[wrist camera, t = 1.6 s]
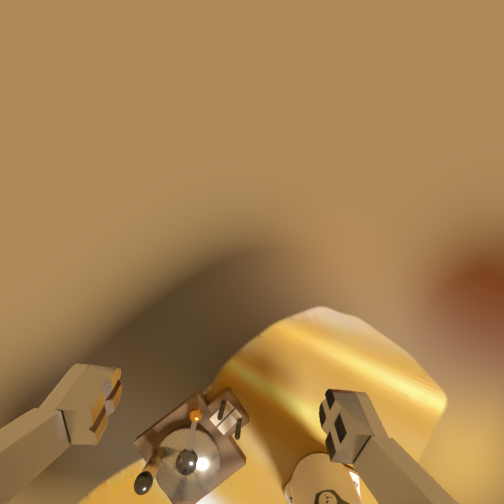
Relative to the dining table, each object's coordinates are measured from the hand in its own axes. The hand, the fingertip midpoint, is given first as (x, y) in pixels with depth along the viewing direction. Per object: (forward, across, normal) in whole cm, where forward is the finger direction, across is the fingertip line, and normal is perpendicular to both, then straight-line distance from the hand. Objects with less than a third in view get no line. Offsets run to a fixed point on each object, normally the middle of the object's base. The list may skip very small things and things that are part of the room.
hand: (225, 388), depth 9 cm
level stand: (+29, -1, -61) cm, 68 cm away
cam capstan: (+27, -4, -61) cm, 67 cm away
